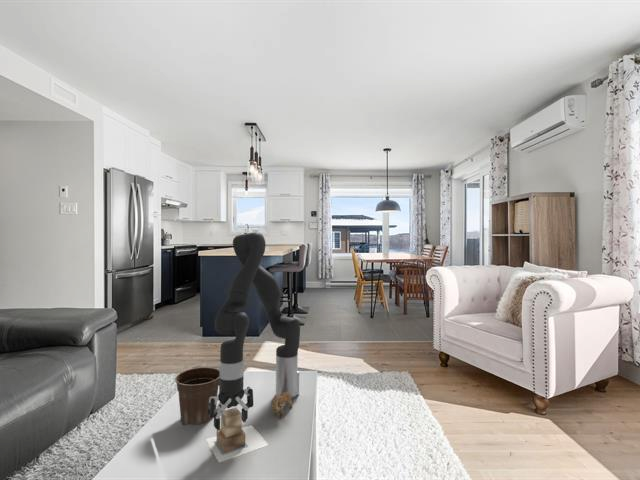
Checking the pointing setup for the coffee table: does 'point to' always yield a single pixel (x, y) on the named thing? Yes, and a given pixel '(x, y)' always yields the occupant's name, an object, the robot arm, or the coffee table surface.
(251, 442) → the board
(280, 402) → the lion figurine
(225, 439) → the walnut plinth
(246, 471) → the coffee table surface
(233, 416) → the oak block
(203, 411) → the plant pot
